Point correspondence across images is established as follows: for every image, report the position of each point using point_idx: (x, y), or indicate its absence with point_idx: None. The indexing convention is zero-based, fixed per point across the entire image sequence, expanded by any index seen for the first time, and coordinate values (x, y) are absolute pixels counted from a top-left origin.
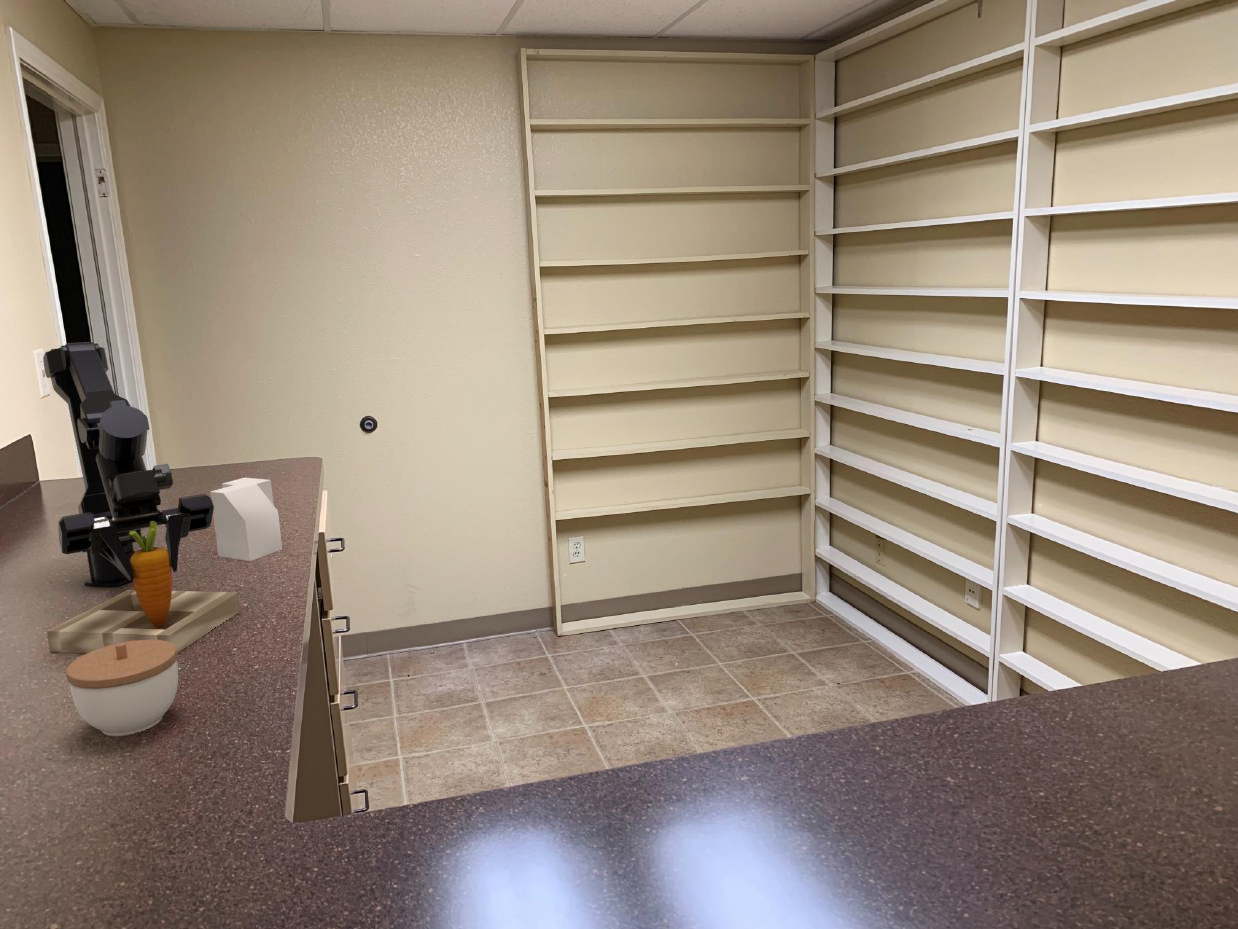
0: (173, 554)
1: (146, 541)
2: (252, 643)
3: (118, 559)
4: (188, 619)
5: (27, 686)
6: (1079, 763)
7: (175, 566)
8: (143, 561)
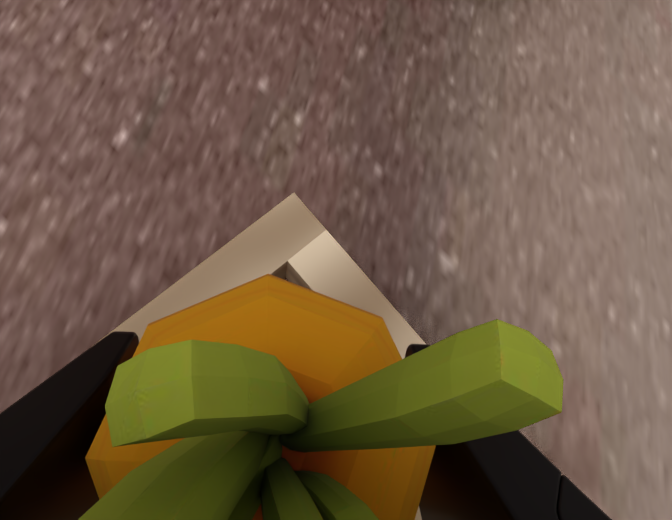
0: (68, 394)
1: (295, 396)
2: (60, 139)
3: (538, 455)
4: (182, 308)
5: (653, 304)
6: None
7: (119, 335)
8: (353, 306)
